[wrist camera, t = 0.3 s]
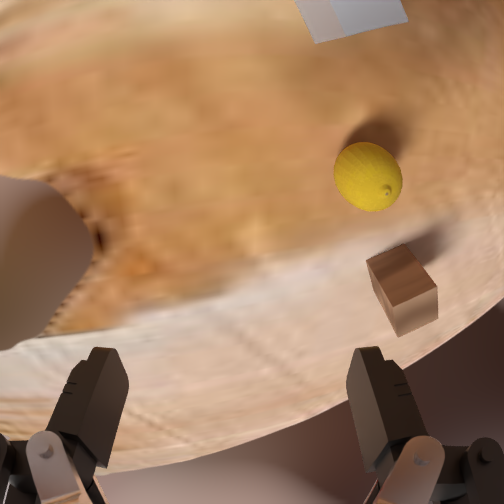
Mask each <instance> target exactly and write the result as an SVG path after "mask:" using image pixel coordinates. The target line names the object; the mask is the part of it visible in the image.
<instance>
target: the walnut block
mask: <svg viewBox="0 0 504 504" xmlns="http://www.w3.org/2000/svg"><path fill="white" fill-rule="evenodd" d="M366 263H367V267H368V270H369V274H370V278H371V282H372V286H373V290H374V292H375V294H376V296H377V298H378V300H379V302H380V304H381V305H382V307H383V309H384V311H385V313H386V315H387V317H388V319H389V321H390V323H391V325H392V327H393V329H394V331H395V333H396V335H397V337H401V336H403V335H405V334H407V333H409V332H411V331H414V330H416V329H418V328H420V327H422V326H424V325H426V324H428V323H430V322H432V321H434V320H436V319H438V294H437V286H436V284H435V283H434V281H433V280H432V279H431V277H430V276H429V275H428V273H427V272H426V271H425V270H424V268H423V267H422V266H421V264H420V263H419V262H418V260H417V259H416V258H415V257H414V255H413V254H412V253H411V252H410V250H409V249H408V248H407V247H406V245H405V244H402V245H400V246H398V247H396V248H393V249H391V250H389V251H387V252H384V253H382V254H380V255H377V256H375V257H373V258H370V259H368V260H366Z"/></svg>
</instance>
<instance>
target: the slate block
mask: <svg viewBox="0 0 504 504" xmlns="http://www.w3.org/2000/svg"><path fill="white" fill-rule="evenodd" d="M294 1H295V3H296V5H297V7H298V9H299V11H300V13H301V15H302V17H303V19H304V21H305V23H306V25H307V27H308V30H309V32H310V34H311V36H312V38H313V40H314V42H315V44H318V43H322V42H326V41H330V40H334V39H338V38H343V37H347V36H351V35H354V34H358V33H362V32H365V31H369V30H373V29H378V28H382V27H386V26H391V25H395V24H400V23H405V22H409V21H408V18H407V16H406V13H405V11H404V8H403V6H402V4H401V1H400V0H294Z"/></svg>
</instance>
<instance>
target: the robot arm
mask: <svg viewBox="0 0 504 504" xmlns="http://www.w3.org/2000/svg"><path fill="white" fill-rule="evenodd" d="M407 383H408V382H407V380H406V377H405V375H404V373H403V370H402V369H401V368H400V367H399V366H398V365H397V364H396V363H395V362H394V361H393V360H386V361H385V360H384V358H383V355H382V353H381V350H380V348H379V347H378V346H373V347H363V348H356V349H355V351H354V354H353V357H352V361H351V364H350V368H349V371H348V375H347V380H346V389H347V395H348V399H349V402H350V407H351V411H352V415H353V419H354V423H355V427H356V431H357V436H358V440H359V444H360V449H361V453H362V458H363V462H364V467H365V472H366V473H368V472H373V471H376V473H377V478H378V479H377V481H376V482H375V484H374V486H373V488H372V490H371V491H370V493H369V495H368V497H367V498H366V500H365V502H364V503H363V504H428V502H429V501H433V504H504V454H503V451H502V449H501V447H500V445H499V444H498V443H497V442H496V441H495V440H493V439H491V438H479V439H477V440H476V441H475V442H473V443H472V444H471V446H467V447H466V446H465V447H463V446H445V445H441V444H440V442H439V441H437V440H436V439H434V438H432V437H430V436H429V434H428V433H427V431H426V428H425V426H424V423H423V420H422V418H421V415H420V413H419V410H418V407H417V405H416V402H415V400H414V397H413V395H412V392H411V389H410V387H409V385H408V384H407ZM128 389H129V381H128V376H127V374H126V371H125V369H124V367H123V364H122V362H121V360H120V357H119V355H118V352H117V350H116V349H114V348H103V347H94V348H93V349H92V351H91V353H90V355H89V357H88V359H87V361H86V360H81V361H80V362H79V363H78V364H77V365H76V366H75V367H74V368H73V369H72V371H71V373H70V375H69V378H68V380H67V384H65V386H64V389H63V393H61V395H60V398H59V400H58V402H57V404H56V407H55V409H54V411H53V414H52V416H51V419H50V421H49V424H48V426H47V428H46V429H45V431H40V432H37V433H35V434H34V435H33V436H32V437H31V438H30V439H29V440H27V441H8V440H7V439H6V438H5V437H4V436H3V435H2V434H1V433H0V504H3V499H4V496H5V492H6V488H7V485H8V482H9V483H10V485H9V489H8V492H7V497H6V500H5V504H109V502H108V501H107V499H106V497H105V495H104V493H103V491H102V489H101V487H100V485H99V482H98V480H97V478H96V477H95V475H94V472H95V468H96V466H98V467H102V468H107V466H108V462H109V458H110V454H111V450H112V447H113V443H114V439H115V436H116V432H117V428H118V425H119V421H120V418H121V414H122V411H123V407H124V404H125V401H126V397H127V394H128Z"/></svg>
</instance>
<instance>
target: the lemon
mask: <svg viewBox="0 0 504 504" xmlns="http://www.w3.org/2000/svg"><path fill="white" fill-rule="evenodd" d="M334 179H335V183H336V186H337V188H338V190H339V192H340V193H341V195H342V196H343V197H344V198H345V199H346V200H347V201H348V202H349V203H351V204H352V205H354V206H356V207H357V208H359V209H362V210H366V211H380V210H384V209H386V208H388V207H389V206H391V205H392V204H393V203H394V202H395V201H396V200H397V198H398V197H399V195H400V193H401V189H402V174H401V170H400V167H399V166H398V164H397V162H396V160H395V159H394V157H393V156H392V155H391V154H390V153H389V152H388V151H387V150H385V149H384V148H382V147H380V146H378V145H376V144H373V143H369V142H358V143H354V144H351V145H349V146H348V147H346V148H345V149H343V151H342V152H341V153H340V154H339V155H338V157H337V159H336V162H335V165H334Z"/></svg>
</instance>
